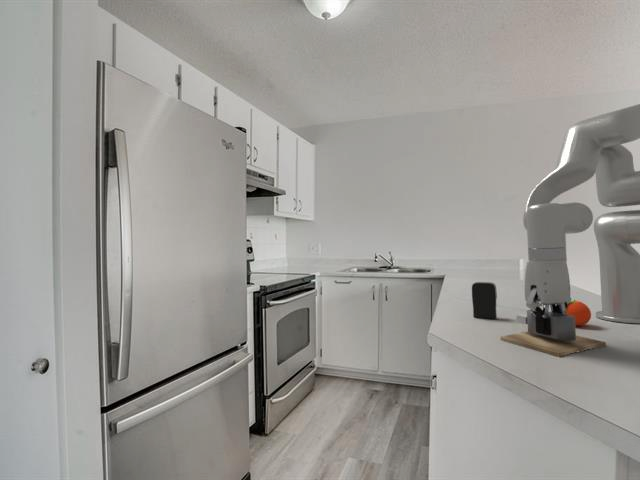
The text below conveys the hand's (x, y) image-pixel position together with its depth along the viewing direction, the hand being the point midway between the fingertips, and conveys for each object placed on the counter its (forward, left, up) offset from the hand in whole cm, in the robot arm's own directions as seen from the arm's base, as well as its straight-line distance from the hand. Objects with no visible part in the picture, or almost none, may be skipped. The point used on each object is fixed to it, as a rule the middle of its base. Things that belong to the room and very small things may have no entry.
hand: (550, 331), depth 79 cm
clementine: (-20, -7, -3) cm, 21 cm away
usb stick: (0, -1, -1) cm, 1 cm away
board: (0, 0, -3) cm, 3 cm away
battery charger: (-8, -26, -3) cm, 27 cm away
